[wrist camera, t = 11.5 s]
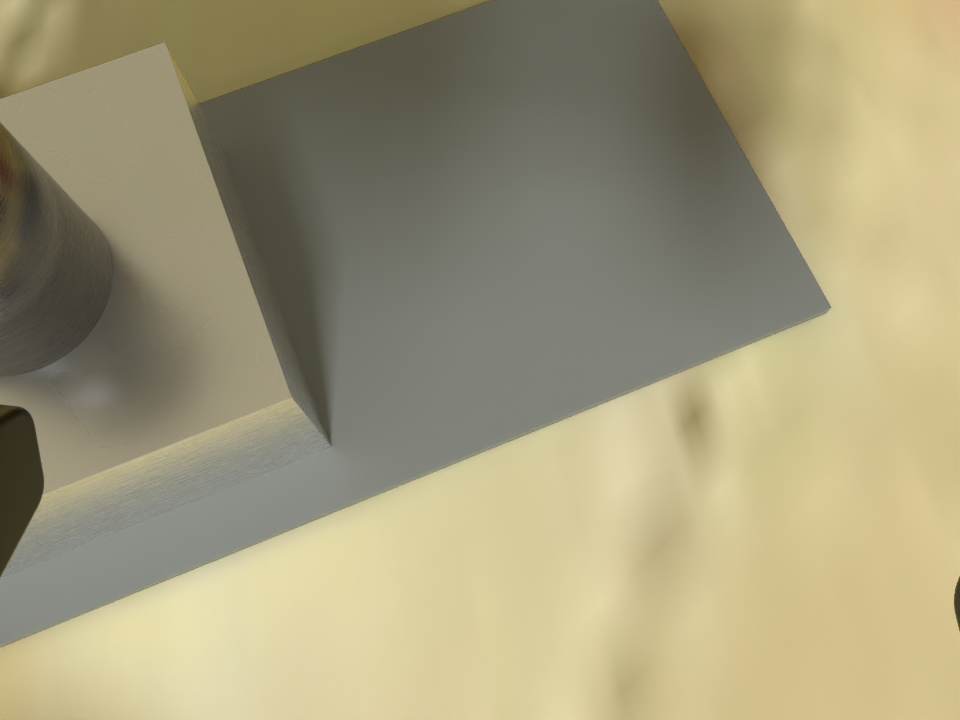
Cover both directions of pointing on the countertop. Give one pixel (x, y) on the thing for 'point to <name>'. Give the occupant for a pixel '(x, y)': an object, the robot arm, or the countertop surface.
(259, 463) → the grey cylinder on plate
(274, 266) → the slate mat
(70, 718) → the countertop surface
